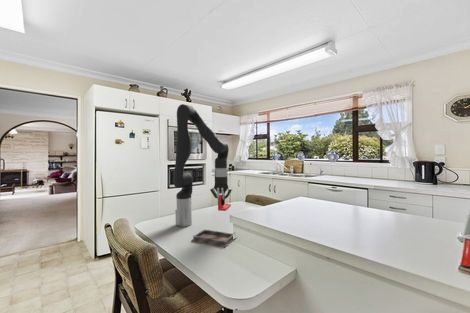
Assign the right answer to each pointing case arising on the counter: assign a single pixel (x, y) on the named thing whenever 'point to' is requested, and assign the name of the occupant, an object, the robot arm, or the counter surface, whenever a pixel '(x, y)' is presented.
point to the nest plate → (213, 238)
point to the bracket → (225, 206)
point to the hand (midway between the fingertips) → (221, 205)
